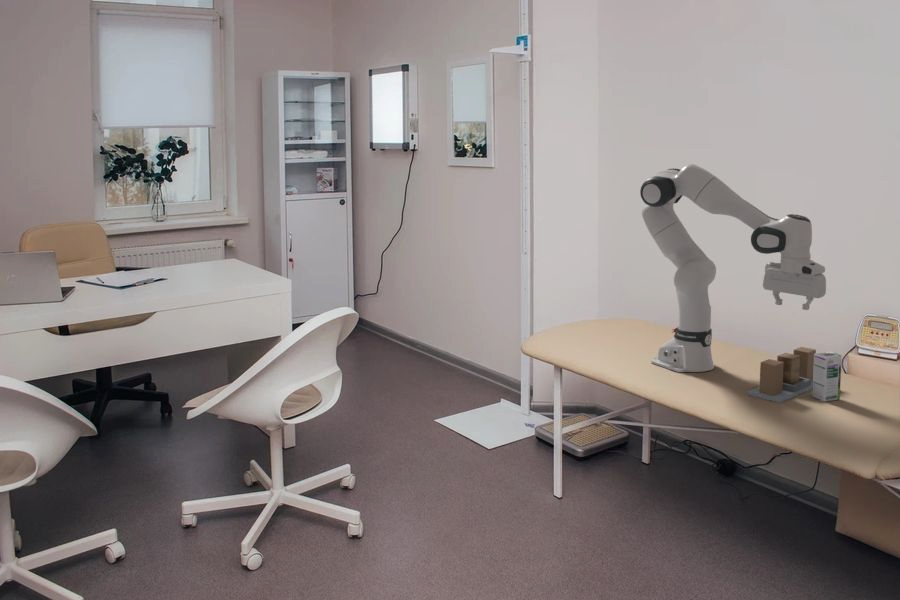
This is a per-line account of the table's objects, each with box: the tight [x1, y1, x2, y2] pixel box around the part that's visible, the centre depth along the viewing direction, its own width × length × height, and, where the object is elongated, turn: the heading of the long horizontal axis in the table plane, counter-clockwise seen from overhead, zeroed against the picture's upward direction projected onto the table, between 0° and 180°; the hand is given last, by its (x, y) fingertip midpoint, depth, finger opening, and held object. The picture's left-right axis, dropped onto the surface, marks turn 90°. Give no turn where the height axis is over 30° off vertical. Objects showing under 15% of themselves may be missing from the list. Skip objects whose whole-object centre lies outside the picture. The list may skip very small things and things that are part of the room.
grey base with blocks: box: [747, 346, 817, 404], centre depth 270 cm, size 11×28×11 cm, turn 129°
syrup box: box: [812, 351, 843, 403], centre depth 259 cm, size 6×6×14 cm
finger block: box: [776, 352, 800, 385], centre depth 270 cm, size 5×5×10 cm
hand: (792, 307), depth 270 cm, fingers open, 8 cm apart
